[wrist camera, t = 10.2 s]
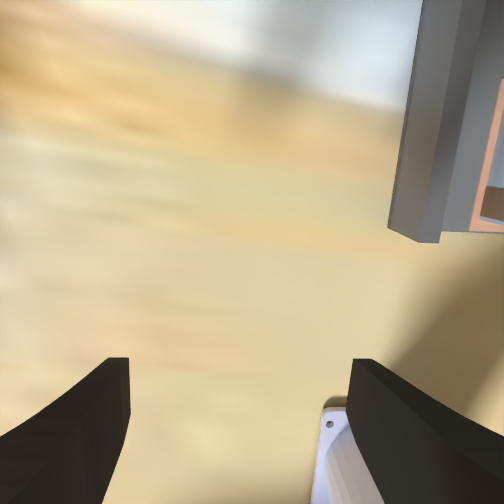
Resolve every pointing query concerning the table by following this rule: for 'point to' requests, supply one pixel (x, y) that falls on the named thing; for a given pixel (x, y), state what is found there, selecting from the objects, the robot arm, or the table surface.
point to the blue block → (495, 183)
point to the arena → (450, 120)
